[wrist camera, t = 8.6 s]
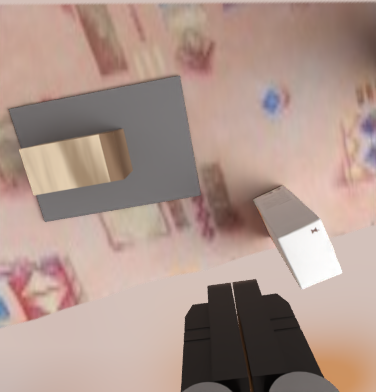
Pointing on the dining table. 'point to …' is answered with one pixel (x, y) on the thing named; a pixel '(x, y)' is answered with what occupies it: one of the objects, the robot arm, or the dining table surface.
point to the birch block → (77, 162)
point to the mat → (135, 138)
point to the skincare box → (298, 237)
